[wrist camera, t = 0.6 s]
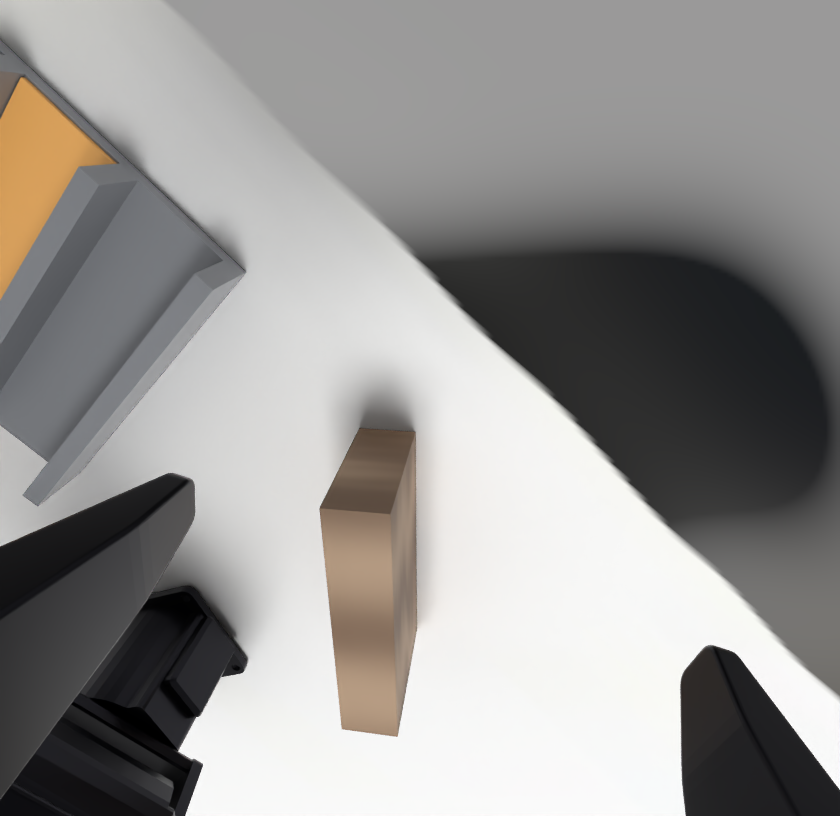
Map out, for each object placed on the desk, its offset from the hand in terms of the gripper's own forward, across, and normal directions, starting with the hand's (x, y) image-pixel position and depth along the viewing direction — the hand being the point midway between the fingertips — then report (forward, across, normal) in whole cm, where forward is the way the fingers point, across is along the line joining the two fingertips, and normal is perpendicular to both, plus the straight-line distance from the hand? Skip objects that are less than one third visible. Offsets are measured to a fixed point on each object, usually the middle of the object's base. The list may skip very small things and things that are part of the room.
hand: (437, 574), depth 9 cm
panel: (+13, +2, +13) cm, 18 cm away
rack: (+12, +20, +4) cm, 24 cm away
